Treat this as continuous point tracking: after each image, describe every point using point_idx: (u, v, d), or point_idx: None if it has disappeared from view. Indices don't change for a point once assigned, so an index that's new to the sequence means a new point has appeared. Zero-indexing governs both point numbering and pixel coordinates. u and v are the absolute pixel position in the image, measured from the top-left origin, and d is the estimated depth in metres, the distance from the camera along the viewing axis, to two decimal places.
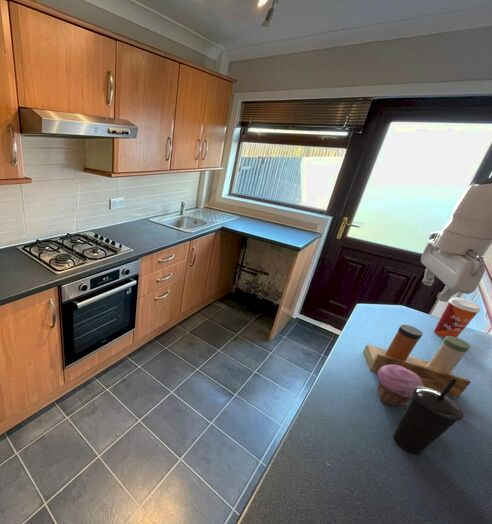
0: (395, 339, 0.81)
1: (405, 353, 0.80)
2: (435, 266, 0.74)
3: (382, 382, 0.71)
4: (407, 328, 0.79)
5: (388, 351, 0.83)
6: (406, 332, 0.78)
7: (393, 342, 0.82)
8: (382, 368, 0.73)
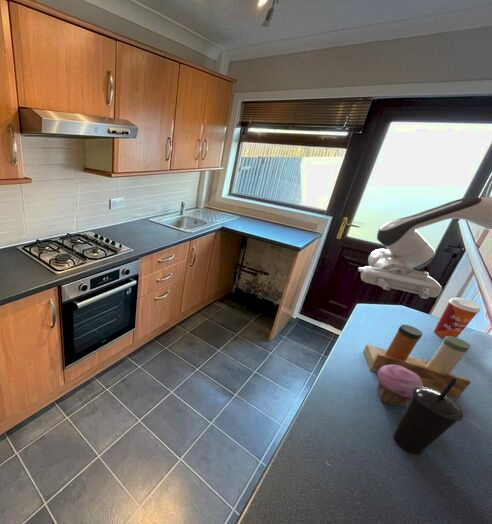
0: (395, 339, 0.81)
1: (405, 353, 0.80)
2: None
3: (382, 382, 0.71)
4: (407, 328, 0.79)
5: (388, 351, 0.83)
6: (406, 332, 0.78)
7: (393, 342, 0.82)
8: (382, 368, 0.73)
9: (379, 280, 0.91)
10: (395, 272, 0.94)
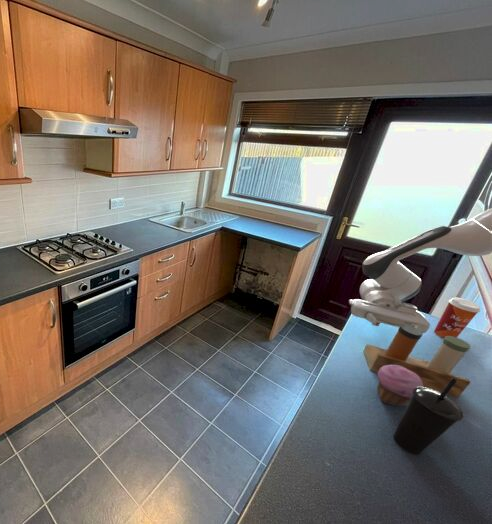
0: (395, 339, 0.81)
1: (405, 353, 0.80)
2: None
3: (382, 382, 0.71)
4: (407, 328, 0.79)
5: (388, 351, 0.83)
6: (406, 332, 0.78)
7: (393, 342, 0.82)
8: (382, 368, 0.73)
9: (368, 315, 0.92)
10: (384, 306, 0.95)
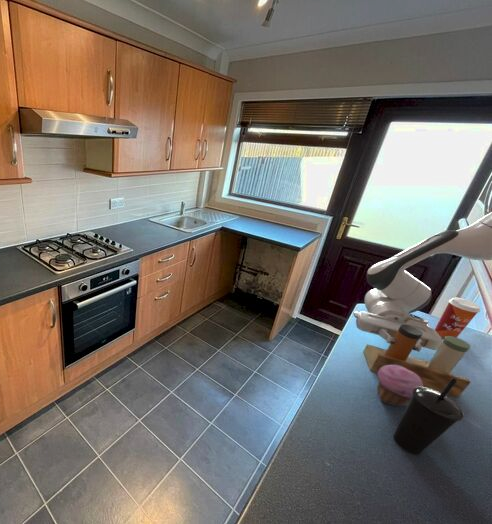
0: None
1: (404, 353, 0.80)
2: None
3: (382, 382, 0.71)
4: (407, 328, 0.79)
5: (388, 351, 0.83)
6: (406, 332, 0.78)
7: None
8: (382, 368, 0.73)
9: (382, 331, 0.84)
10: (392, 319, 0.88)
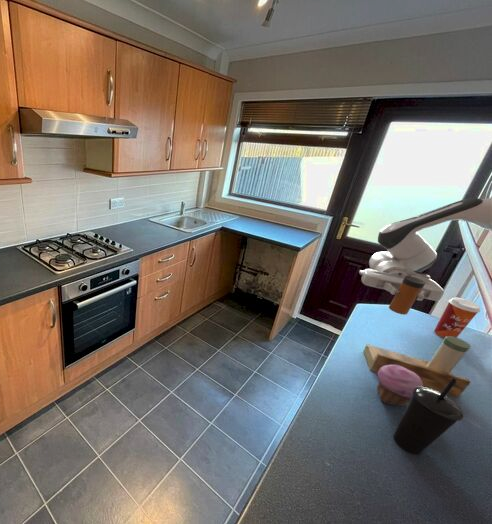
0: None
1: (408, 302, 0.84)
2: None
3: (382, 382, 0.71)
4: (411, 278, 0.84)
5: (392, 302, 0.88)
6: (410, 282, 0.82)
7: None
8: (382, 368, 0.73)
9: (387, 285, 0.89)
10: (396, 275, 0.93)
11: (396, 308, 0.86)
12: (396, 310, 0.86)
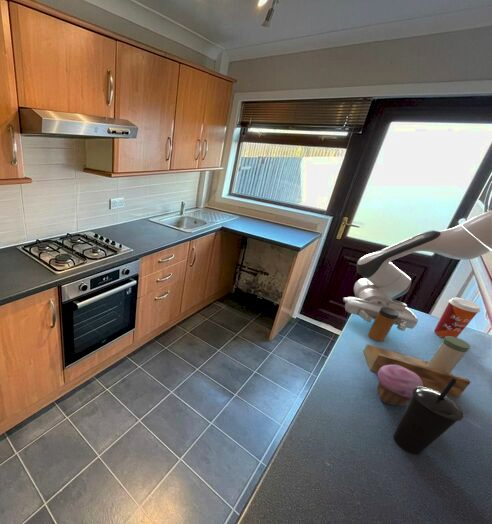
0: (376, 320, 0.95)
1: (384, 331, 0.93)
2: None
3: (382, 382, 0.71)
4: (386, 310, 0.93)
5: (370, 330, 0.97)
6: (385, 313, 0.92)
7: (374, 322, 0.95)
8: (382, 368, 0.73)
9: (361, 312, 0.98)
10: (376, 303, 1.02)
11: (373, 336, 0.96)
12: (374, 337, 0.96)
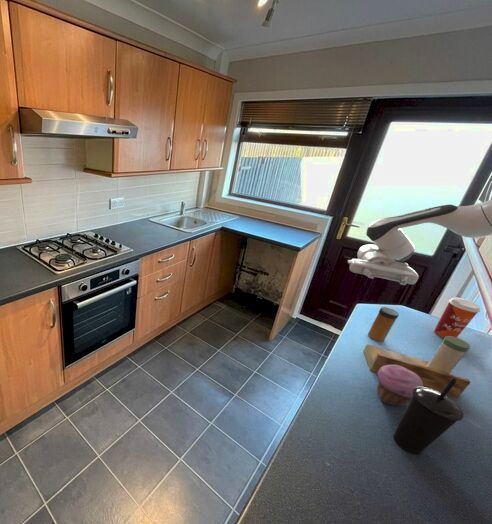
0: (376, 320, 0.95)
1: (384, 331, 0.93)
2: None
3: (382, 382, 0.71)
4: (386, 310, 0.93)
5: (370, 330, 0.97)
6: (385, 313, 0.92)
7: (374, 322, 0.95)
8: (382, 368, 0.73)
9: (365, 270, 1.04)
10: (379, 263, 1.08)
11: (373, 336, 0.96)
12: (374, 337, 0.96)
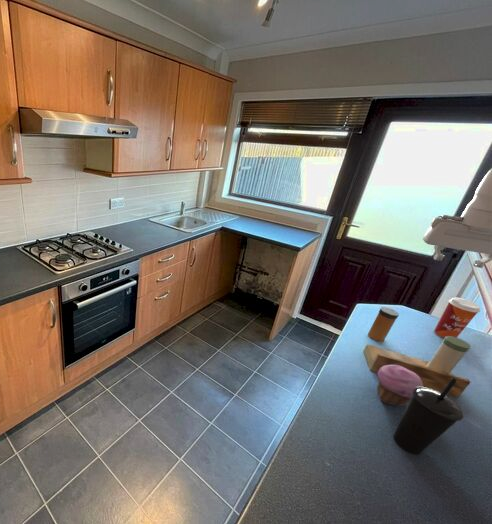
0: (376, 320, 0.95)
1: (384, 331, 0.93)
2: None
3: (382, 382, 0.71)
4: (386, 310, 0.93)
5: (370, 330, 0.97)
6: (385, 313, 0.92)
7: (374, 322, 0.95)
8: (382, 368, 0.73)
9: (436, 249, 0.87)
10: (476, 232, 0.80)
11: (373, 336, 0.96)
12: (374, 337, 0.96)
